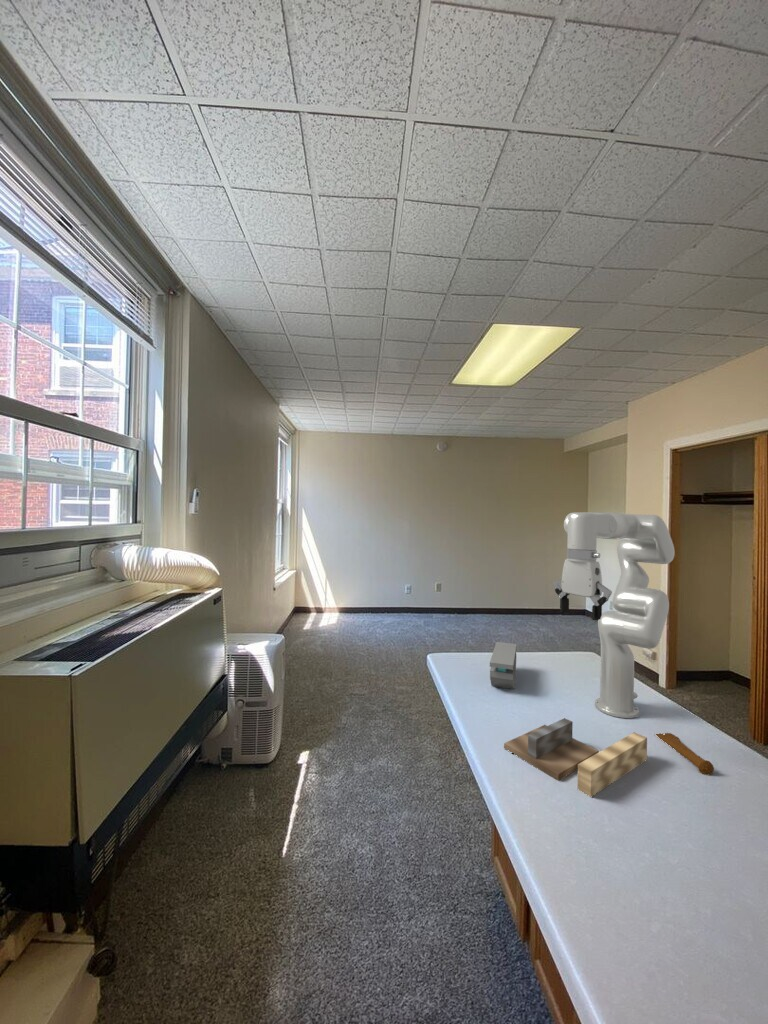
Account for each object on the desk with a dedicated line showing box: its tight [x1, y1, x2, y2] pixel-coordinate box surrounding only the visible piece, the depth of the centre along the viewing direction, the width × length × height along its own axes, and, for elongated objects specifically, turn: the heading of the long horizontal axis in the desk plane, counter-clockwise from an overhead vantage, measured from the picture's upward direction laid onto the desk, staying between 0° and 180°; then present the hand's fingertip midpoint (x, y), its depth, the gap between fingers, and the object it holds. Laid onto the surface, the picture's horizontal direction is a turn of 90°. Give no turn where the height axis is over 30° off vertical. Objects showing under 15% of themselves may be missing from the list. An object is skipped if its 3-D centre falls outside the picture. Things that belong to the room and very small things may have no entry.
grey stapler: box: [489, 641, 517, 690], centre depth 158 cm, size 25×8×11 cm, turn 160°
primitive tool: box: [656, 732, 715, 776], centre depth 112 cm, size 19×6×4 cm, turn 178°
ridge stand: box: [503, 717, 600, 781], centre depth 112 cm, size 18×16×6 cm
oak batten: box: [577, 732, 648, 798], centre depth 103 cm, size 26×3×6 cm, turn 124°
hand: (579, 615), depth 120 cm, fingers open, 9 cm apart
